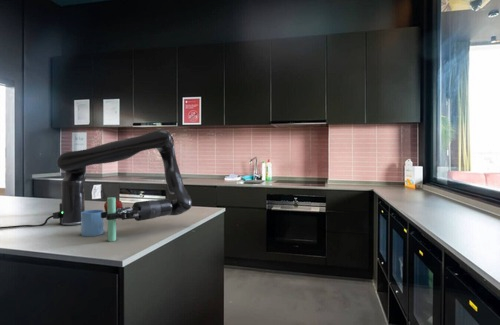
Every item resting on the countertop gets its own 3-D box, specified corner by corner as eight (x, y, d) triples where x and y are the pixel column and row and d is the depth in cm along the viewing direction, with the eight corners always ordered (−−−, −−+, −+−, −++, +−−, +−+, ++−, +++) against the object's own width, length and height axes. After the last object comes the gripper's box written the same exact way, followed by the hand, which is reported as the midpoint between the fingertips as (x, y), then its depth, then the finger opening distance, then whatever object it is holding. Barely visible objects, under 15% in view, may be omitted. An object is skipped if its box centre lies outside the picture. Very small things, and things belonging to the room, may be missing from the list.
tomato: (102, 213, 168) (102, 198, 168) (120, 211, 174) (119, 196, 174) (106, 215, 161) (106, 200, 161) (124, 213, 167) (124, 198, 166)
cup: (76, 236, 122) (76, 213, 121) (89, 231, 130) (89, 209, 129) (95, 236, 121) (95, 213, 120) (107, 231, 129) (107, 210, 128)
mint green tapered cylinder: (106, 241, 114) (105, 198, 114) (110, 239, 117) (110, 197, 117) (113, 241, 114) (112, 198, 114) (117, 239, 117) (117, 197, 116)
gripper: (138, 199, 131) (95, 203, 118) (156, 202, 121) (112, 208, 108) (138, 216, 131) (96, 223, 118) (156, 221, 121) (112, 229, 109)
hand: (104, 216), depth 113 cm, fingers open, 4 cm apart
